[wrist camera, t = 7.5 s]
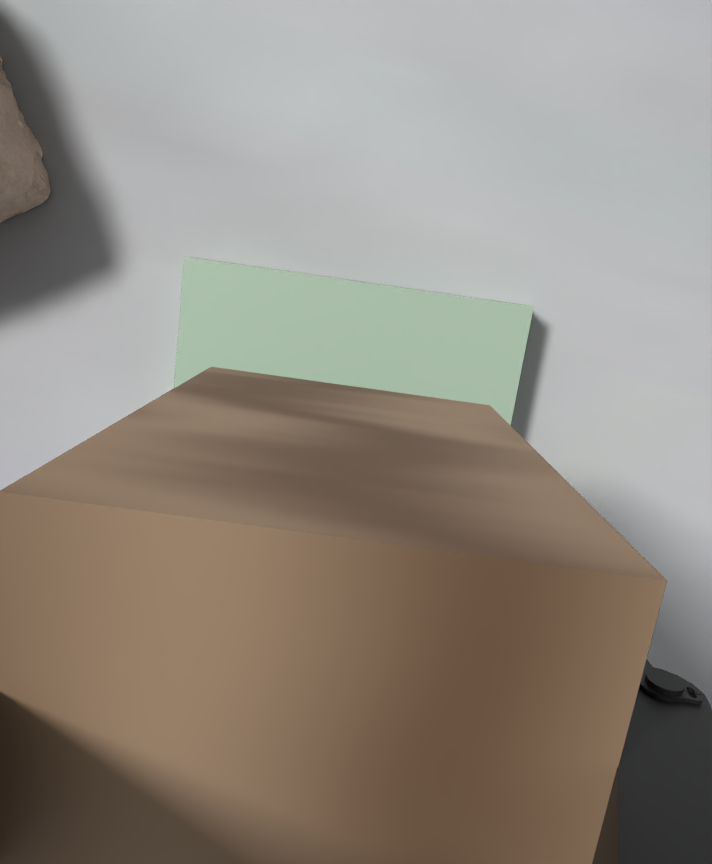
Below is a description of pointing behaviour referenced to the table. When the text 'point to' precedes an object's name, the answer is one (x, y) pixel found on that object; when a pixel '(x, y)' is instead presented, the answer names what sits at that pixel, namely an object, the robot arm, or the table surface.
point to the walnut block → (311, 637)
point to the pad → (350, 333)
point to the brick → (18, 159)
